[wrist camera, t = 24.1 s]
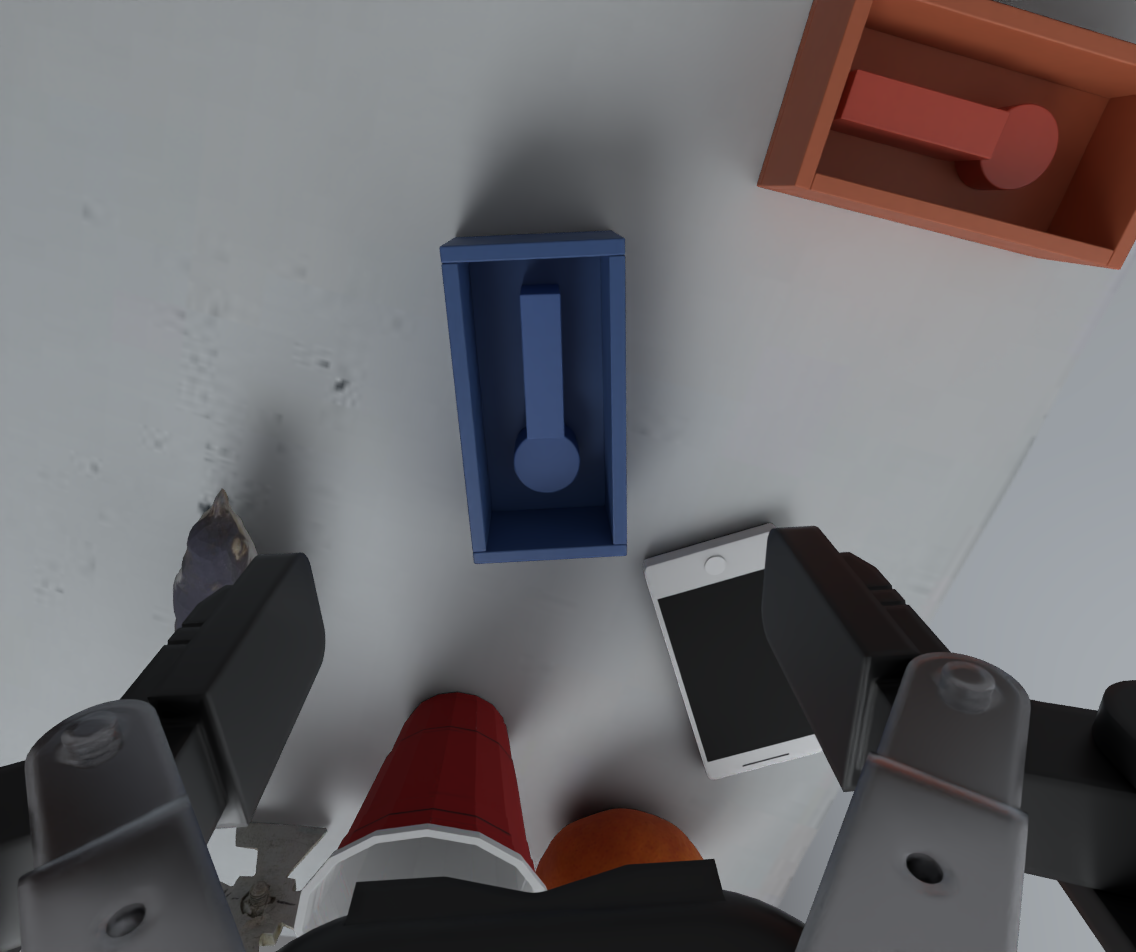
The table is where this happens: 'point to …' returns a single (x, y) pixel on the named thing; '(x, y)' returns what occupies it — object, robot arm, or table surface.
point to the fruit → (611, 845)
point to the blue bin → (497, 398)
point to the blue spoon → (544, 396)
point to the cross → (269, 881)
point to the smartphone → (727, 654)
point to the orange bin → (984, 75)
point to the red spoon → (951, 129)
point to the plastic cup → (433, 812)
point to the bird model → (211, 557)
